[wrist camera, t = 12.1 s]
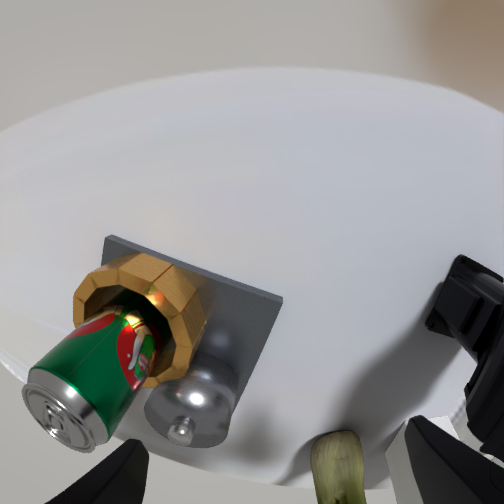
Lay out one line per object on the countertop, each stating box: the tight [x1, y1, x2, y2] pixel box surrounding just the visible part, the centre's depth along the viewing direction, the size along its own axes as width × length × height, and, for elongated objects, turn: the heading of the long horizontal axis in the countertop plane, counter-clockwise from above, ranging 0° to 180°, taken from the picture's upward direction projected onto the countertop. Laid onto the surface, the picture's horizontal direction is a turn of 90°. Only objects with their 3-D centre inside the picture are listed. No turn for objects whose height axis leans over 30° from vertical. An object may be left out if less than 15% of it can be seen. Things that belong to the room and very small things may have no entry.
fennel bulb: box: [310, 431, 367, 504], centre depth 18 cm, size 6×5×12 cm
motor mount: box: [73, 235, 283, 448], centre depth 18 cm, size 14×12×8 cm
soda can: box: [22, 288, 173, 453], centre depth 15 cm, size 5×5×12 cm
